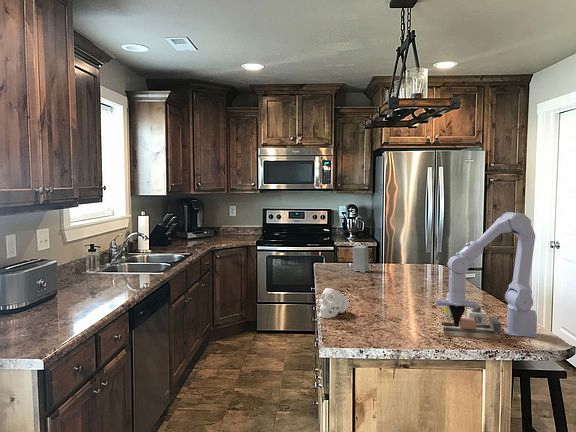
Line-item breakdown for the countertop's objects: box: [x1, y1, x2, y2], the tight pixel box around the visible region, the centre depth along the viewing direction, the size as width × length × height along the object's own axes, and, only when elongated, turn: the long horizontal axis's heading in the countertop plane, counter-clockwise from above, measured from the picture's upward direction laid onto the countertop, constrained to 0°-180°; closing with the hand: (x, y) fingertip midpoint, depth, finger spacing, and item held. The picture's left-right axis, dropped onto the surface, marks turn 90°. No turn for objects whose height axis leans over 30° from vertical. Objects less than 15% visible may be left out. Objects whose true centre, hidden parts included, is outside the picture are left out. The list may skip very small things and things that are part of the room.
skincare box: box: [351, 245, 370, 273], centre depth 294 cm, size 8×7×16 cm
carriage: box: [459, 317, 476, 329], centre depth 171 cm, size 5×5×3 cm
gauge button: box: [472, 306, 482, 313], centre depth 181 cm, size 3×3×5 cm
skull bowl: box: [318, 287, 350, 319], centre depth 196 cm, size 10×14×12 cm
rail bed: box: [440, 316, 502, 340], centre depth 171 cm, size 19×9×6 cm, turn 78°
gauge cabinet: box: [466, 308, 487, 325], centre depth 180 cm, size 6×6×6 cm
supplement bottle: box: [444, 292, 453, 320], centre depth 191 cm, size 5×5×10 cm
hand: (456, 326), depth 172 cm, fingers closed
